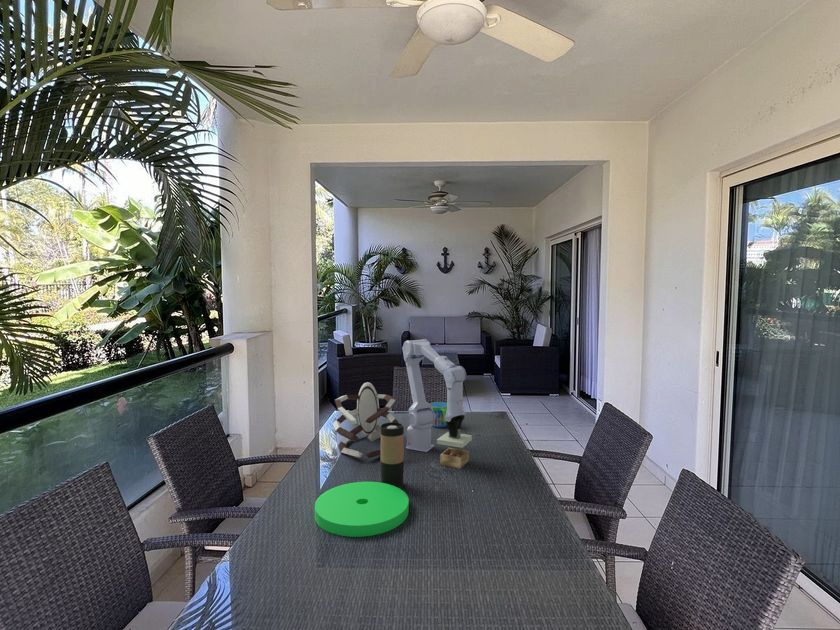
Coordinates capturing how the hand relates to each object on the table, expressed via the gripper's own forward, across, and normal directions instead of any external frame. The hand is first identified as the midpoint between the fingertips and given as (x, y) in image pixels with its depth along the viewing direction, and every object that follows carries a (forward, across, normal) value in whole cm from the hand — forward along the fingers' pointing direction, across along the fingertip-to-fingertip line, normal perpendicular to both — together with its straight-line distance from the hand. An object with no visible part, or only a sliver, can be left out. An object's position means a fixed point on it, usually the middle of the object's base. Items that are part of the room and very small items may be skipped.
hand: (454, 435), depth 168 cm
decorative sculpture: (+11, 0, +39) cm, 41 cm away
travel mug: (+11, -27, +11) cm, 31 cm away
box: (+10, 0, 0) cm, 10 cm away
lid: (+1, 0, 0) cm, 1 cm away
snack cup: (+11, +40, +24) cm, 48 cm away
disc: (+11, -46, +10) cm, 48 cm away
